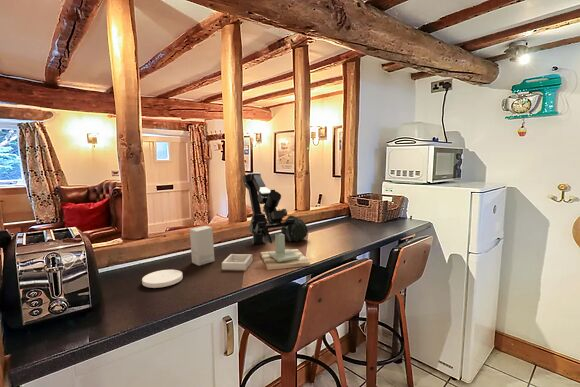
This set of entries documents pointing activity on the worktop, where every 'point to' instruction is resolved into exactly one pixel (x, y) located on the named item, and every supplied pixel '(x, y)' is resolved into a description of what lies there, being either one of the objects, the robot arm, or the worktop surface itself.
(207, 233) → the skincare box
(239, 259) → the tray
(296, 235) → the squash
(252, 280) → the worktop surface
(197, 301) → the worktop surface
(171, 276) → the plastic lid
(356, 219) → the worktop surface
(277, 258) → the sage lid
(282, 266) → the birch board
